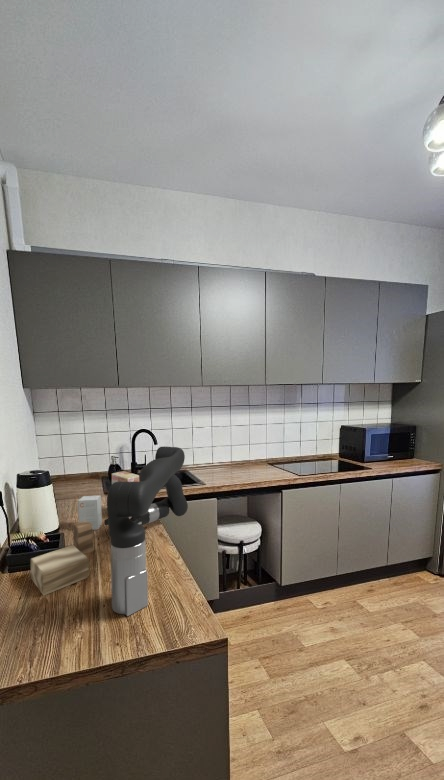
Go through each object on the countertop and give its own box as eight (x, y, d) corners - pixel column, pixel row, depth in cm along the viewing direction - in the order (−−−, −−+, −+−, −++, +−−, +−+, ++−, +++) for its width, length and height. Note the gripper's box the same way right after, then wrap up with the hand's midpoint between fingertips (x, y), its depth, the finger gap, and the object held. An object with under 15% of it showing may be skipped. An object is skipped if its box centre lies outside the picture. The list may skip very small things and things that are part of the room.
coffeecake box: (141, 516, 154) (140, 475, 154) (127, 521, 148) (126, 478, 149) (124, 509, 164) (124, 470, 164) (111, 513, 159) (110, 473, 159)
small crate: (93, 551, 120) (92, 523, 120) (78, 556, 117) (78, 528, 117) (87, 547, 124) (86, 520, 124) (73, 551, 120) (72, 524, 120)
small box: (101, 524, 146) (101, 494, 146) (98, 530, 139) (97, 499, 140) (83, 525, 145) (82, 495, 145) (78, 531, 139) (77, 500, 139)
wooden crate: (90, 577, 103) (89, 557, 103) (43, 596, 94) (43, 574, 94) (74, 562, 113) (73, 544, 113) (30, 578, 103) (30, 558, 103)
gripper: (137, 501, 144) (101, 511, 133) (154, 509, 134) (117, 520, 122) (137, 518, 144) (101, 530, 132) (155, 527, 134) (118, 540, 122)
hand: (109, 525), depth 127 cm, fingers open, 8 cm apart
